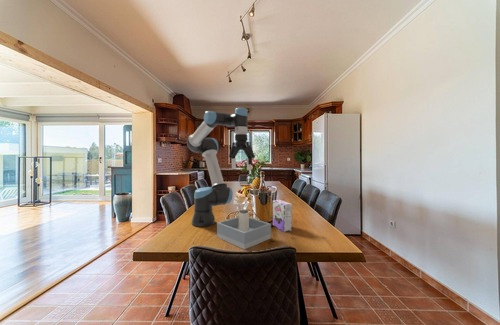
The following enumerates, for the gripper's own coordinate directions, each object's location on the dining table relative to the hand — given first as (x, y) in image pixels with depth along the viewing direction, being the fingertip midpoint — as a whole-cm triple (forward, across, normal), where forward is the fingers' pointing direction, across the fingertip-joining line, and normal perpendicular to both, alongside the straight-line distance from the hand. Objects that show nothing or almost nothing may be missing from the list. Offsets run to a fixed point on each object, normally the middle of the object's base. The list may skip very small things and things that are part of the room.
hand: (241, 169), depth 130 cm
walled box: (+37, +11, -8) cm, 39 cm away
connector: (+37, +11, -8) cm, 39 cm away
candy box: (+37, +16, +20) cm, 45 cm away
